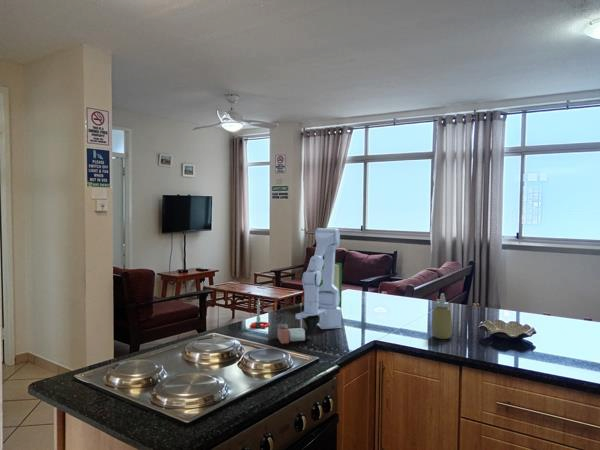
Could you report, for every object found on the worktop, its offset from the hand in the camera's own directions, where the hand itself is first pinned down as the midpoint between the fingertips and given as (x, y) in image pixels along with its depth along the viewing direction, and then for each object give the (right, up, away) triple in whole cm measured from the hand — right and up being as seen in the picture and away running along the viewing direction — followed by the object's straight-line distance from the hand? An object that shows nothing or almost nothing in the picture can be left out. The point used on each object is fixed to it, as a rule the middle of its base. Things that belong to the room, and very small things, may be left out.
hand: (311, 334), depth 174 cm
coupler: (-10, -2, -2) cm, 10 cm away
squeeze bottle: (+54, -2, +3) cm, 54 cm away
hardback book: (+9, 0, +60) cm, 61 cm away
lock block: (-6, -2, -2) cm, 6 cm away
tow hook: (-22, -1, +19) cm, 30 cm away
